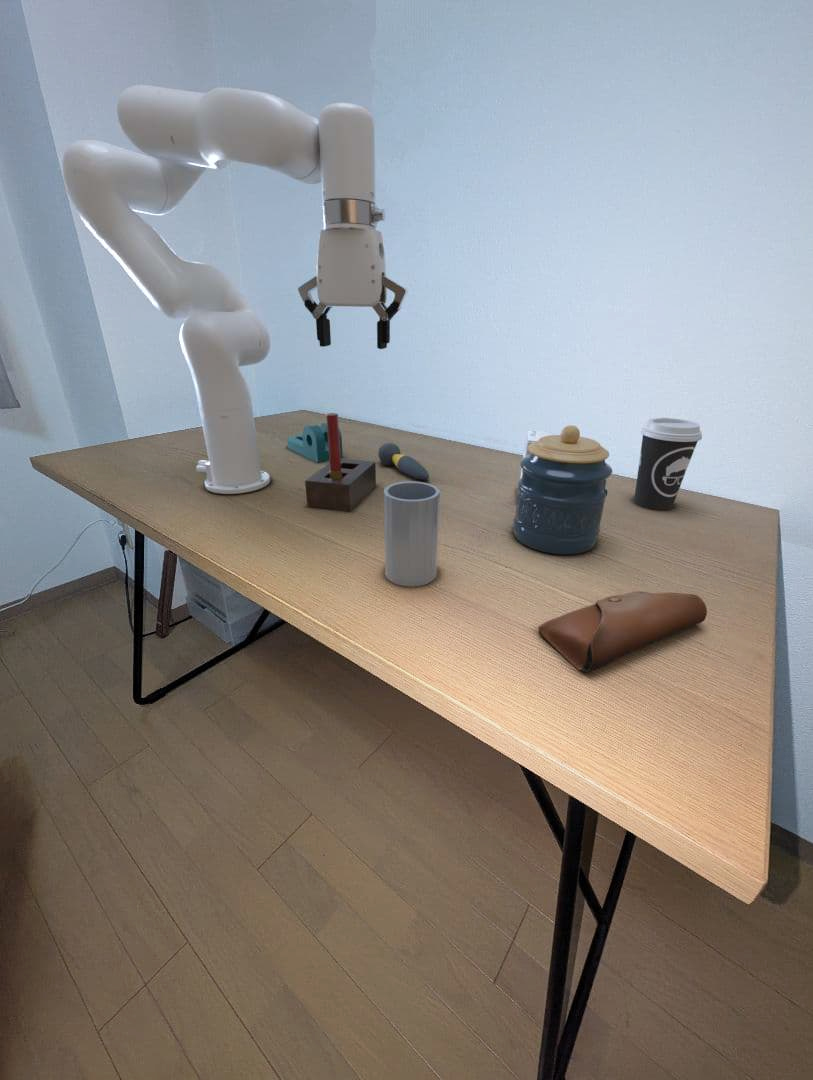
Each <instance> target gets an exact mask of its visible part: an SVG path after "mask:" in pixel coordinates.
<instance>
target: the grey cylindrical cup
mask: <svg viewBox="0 0 813 1080" xmlns="http://www.w3.org/2000/svg"><path fill="white" fill-rule="evenodd" d="M440 498H441V491H440V488H438V487H437V486H436V485H433V484H431V483H428V482H422V481H399V482H395V483H391V484H389V485H388V486H386V487H385V488H384V489H383V517H384V518H383V519H384V521H383V522H384V525H383V526H384V527H383V528H384V574H385V577H386V579H387V580H388V581H390V582H391V583H393V584H395V585H398V586H401V587H410V588H411V587H421V586H424V585H425V586H426V585H428V584H430V583H431V582H433V581H434V580H435V579H436V578H437V571H438V549H439V529H440V527H439V526H440Z"/></svg>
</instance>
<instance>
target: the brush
mask: <svg viewBox="0 0 813 1080" xmlns="http://www.w3.org/2000/svg"><path fill="white" fill-rule="evenodd" d="M325 416H326V417H325V418H326V423H327V432H328V446H329V463H330V478H333V479H342V470H341V459H342V458H341V456H340V439H339V429H340V425H339V414H338V413H335V412H330V413H326V415H325Z"/></svg>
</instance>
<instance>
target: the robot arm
mask: <svg viewBox="0 0 813 1080" xmlns="http://www.w3.org/2000/svg"><path fill="white" fill-rule="evenodd" d="M116 107H117V108H116V112H117V113H116V114H117V117H118V122H119V125H120V127H121V129H122V131H123V134H124V135H125V136H126V138H127V140H129V141H130V143H132V145H133V146H135V147H136V148H137V149H139V150H140V152H142V153H144V154H146V155H144V154H142V153H139V152H136V151H133V150H130V149H127V148H124V147H121V146H117V145H115V144H111V143H108V142H105V141H101V140H95V139H81V140H80V139H79V140H76V141H74V142H72V143H70V144H69V145H68V146H67V147H66V149H65V151H64V154H63V157H62V174H63V179H64V184H65V187H66V190H67V193H68V196H69V199H70V201H71V203H72V206H73V207H74V210H75V211H76V213H77V215H78V216H79V218H80V219H81V221H82V222H83V223H84V225H85V226H86V227H87V228H88V230H89V231H90V232H91V234H92V235H94V237H95V238H96V239H97V240H98V241H99V242H100V243H101V244H102V245H103V246H104V248H105V249H107V250H108V252H109V253H110V254H112V256H113V257H114V258H115V259H116V260H117V261H118V262H119V264H120V265H121V266H122V267H123V269H124V270H125V271H126V273H127V274H128V275H129V277H131V279H132V280H133V282H135V284H136V285H137V286H138V287H139V289H140V290H141V291H142V292H143V293H144V294H145V296H146V297H147V298H148V299H149V301H150V302H151V303H152V305H153V306H154V307H155V308H156V309H157V310H158V311H159V312H160V313H161V314H162V315H163V316H165V317H166V318H169V319H172V320H179V321H184V322H183V323H182V325H181V326H180V331H179V342H180V348H181V352H182V354H183V357H184V359H185V361H186V364H187V367H188V370H189V373H190V375H191V378H192V382H193V386H194V391H195V396H196V400H197V405H198V410H199V416H200V421H201V426H202V432H203V437H204V442H205V447H206V451H207V452H206V454H207V457H208V460H205V459H204V460H203V459H200V460H198V462H197V465H196V466H195V471H196V473H199V474H200V473H202V474H203V473H204V474H206V479H205V480H204V487H205V489H206V490H207V491H209V492H211V493H214V494H220V495H236V494H237V495H238V494H239V495H240V494H246V493H250V492H255V491H258V490H261V489H263V488H265V487H267V486H268V485H270V482H271V475H270V474H269V473H268V472H266V471H264V470H262V468H261V460H260V453H259V446H258V445H259V444H258V438H257V431H256V425H255V423H256V422H255V417H254V410H253V403H252V396H251V392H250V391H251V390H250V388H249V385H248V383H247V381H246V379H245V377H244V375H243V373H242V372H241V369H240V367H246V366H251V365H255V364H259V363H261V362H263V361H264V360H265V359H266V358H267V357H268V355H269V353H270V349H271V338H270V333H269V331H268V328H267V325H266V324H265V323H264V321H263V319H262V318H261V317H260V315H259V314H258V312H257V311H256V310H255V309H254V308H253V306H252V305H251V303H249V301H248V300H247V298H246V297H245V296H244V295H243V294H242V293H241V291H240V290H239V289H238V287H237V286H236V285H235V284H234V282H233V281H232V280H231V279H230V278H229V277H228V276H227V275H226V273H225V272H223V271H222V270H220V269H219V268H217V267H216V266H214V265H212V264H208V263H204V262H197V261H191V260H186V259H184V258H182V257H180V256H179V255H178V254H177V253H176V252H175V251H174V249H172V248H171V246H170V245H169V244H168V243H167V242H166V241H165V239H164V238H163V236H162V235H161V234H160V233H159V232H158V231H157V230H156V229H155V228H154V226H152V225H151V224H149V223H148V221H146V220H145V219H144V218H143V217H141V216H139V214H137V213H136V212H138V213H143V214H148V215H153V216H163V215H167V214H169V213H170V212H172V211H173V210H174V209H175V208H177V206H178V205H179V204H180V203H181V201H182V200H183V199H184V198H185V196H186V195H188V193H189V192H190V190H191V189H192V188H193V187H194V185H195V184H197V182H198V180H199V179H200V178H201V177H202V176H203V174H204V173H205V171H206V170H207V168H209V169H213V170H222V169H224V168H227V166H229V164H230V163H231V162H238V163H244V164H250V165H254V166H258V167H263V168H267V169H269V170H272V171H275V172H277V173H280V174H282V175H284V176H286V177H289V178H291V179H294V180H295V181H298V182H301V183H303V184H307V185H316V184H321V198H322V199H321V200H322V201H321V202H322V220H323V229H320V230H319V234H318V242H317V243H318V245H317V252H316V253H317V255H316V257H317V258H316V275H315V276H313V277H312V278H310V279H309V280H308V281H306V282H304V283H303V284H301V285H300V286H298V289H297V292H298V294H299V296H300V298H301V300H302V302H303V303H304V307H305V309H307V310H308V312H309V313H310V314H311V315H312V317H313V318H314V320H315V325H316V339H317V341H319V342H318V343H319V347H322V348H323V347H329V346H331V344H332V337H331V320H330V319H329V318H328V315H329V313H330V311H332V308H333V307H358V308H359V307H363V308H364V307H367V308H368V307H369V308H370V307H371V308H372V309H373V310H374V311H375V313H376V315H377V316H378V318H379V320H378V321H376V348H377V349H378V350H384V349H387V347H388V344H389V343H390V341H391V320H393V318H394V316H395V315H396V314H397V313H398V312H399V311H400V310H401V309H402V305H403V303H404V301H405V299H406V297H407V296H408V289H407V288H405V287H404V286H402V285H401V284H400V283H398V282H396V281H395V280H393V279H392V278H389V276H387V266H386V254H385V245H384V240H383V235H382V231H380V230H378V229H376V228H377V227H378V223H380V222H383V221H385V220H386V211H385V209H384V208H383V209H380V208H378V206H377V205H376V134H375V133H376V132H375V121H374V116H373V115H372V113H371V112H370V110H368V109H367V108H366V107H364V106H362V105H360V104H356V103H352V102H334V103H330V104H328V105H326V106H324V107H323V108H322V109H321V111H320V113H319V115H318V118H316V117H314V116H312V115H309V114H307V113H306V112H304V111H303V110H301V109H299V108H298V107H297V106H295V105H293V104H292V103H290V102H289V101H287V100H285V99H283V98H282V97H280V96H277V95H274V94H272V93H268V92H263V91H258V90H252V89H251V90H250V89H244V88H243V89H242V88H236V87H228V86H227V87H226V86H225V87H224V86H221V87H215V88H213V89H211V90H210V91H208V92H198V91H193V90H192V91H189V90H183V89H176V88H169V87H163V86H155V85H148V84H136V85H132V86H129V87H127V88H126V89H125V90H124V91H122V92H121V94H120V96H119V97H118V100H117V105H116ZM315 290H317V298H318V301H319V302H318V303H317V302H316V301H315V300H314V298H313V296H312V292H313V291H315ZM388 290H389V291H391V292H393V294H394V297H393V300H392V302H391V303H390V304H389V305H388V306H387V305H386V303H387V301H388Z"/></svg>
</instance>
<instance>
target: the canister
mask: <svg viewBox="0 0 813 1080" xmlns="http://www.w3.org/2000/svg"><path fill="white" fill-rule="evenodd" d="M528 450H529V452H530V454H529V455H528V456H526V457H524V458H523V457H522V459H521V460H520V462H519V464H520V467H521V469H523V475H522V478H521V479H520V478H519V480H518V482H517V486H518V487H517V488H518V490H517V498H516V507H515V514H514V517H513V522H512V523H513V524H512V525H513V534H514V537H515V538H516V540H518V541H519V542H520V543H521V544H523V545H525V547H528V548H530V549H532V550H536V551H539V552H542V553H546V554H547V553H548V554H553V555H578V554H582V553H585V552H588V551H590V550H592V549H593V548H594V547H595V545H596V544H597V543H596V542H597V541H598V539H599V536H600V533H601V532H600V531H601V527H600V525H601V521H602V517H603V512H604V507H605V502H606V497H607V496H608V493H609V492H608V489H607V487H606V486H607V479H608V478H609V477H610V476H611V475H612V474H613V468H612V467H611V465H610V464H608V463H607V462H606V460H607V459H608V458H609V457H610V453H609V451H608V449H606V448H605V447H603V446H602V445H601V443H600V442H599V441H597V440H594V439H592V438H589V437H584V436H581V431H580V429H579V428H578V427H577V426H576V425H572V424H570V425H566V426H564V427H563V428H562V430H561V432H560V434H553V435H550V436H544V437H542V438H540V439H539V440H538V441H536V442H533V443H531V444H530V445H529V446H528Z"/></svg>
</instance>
